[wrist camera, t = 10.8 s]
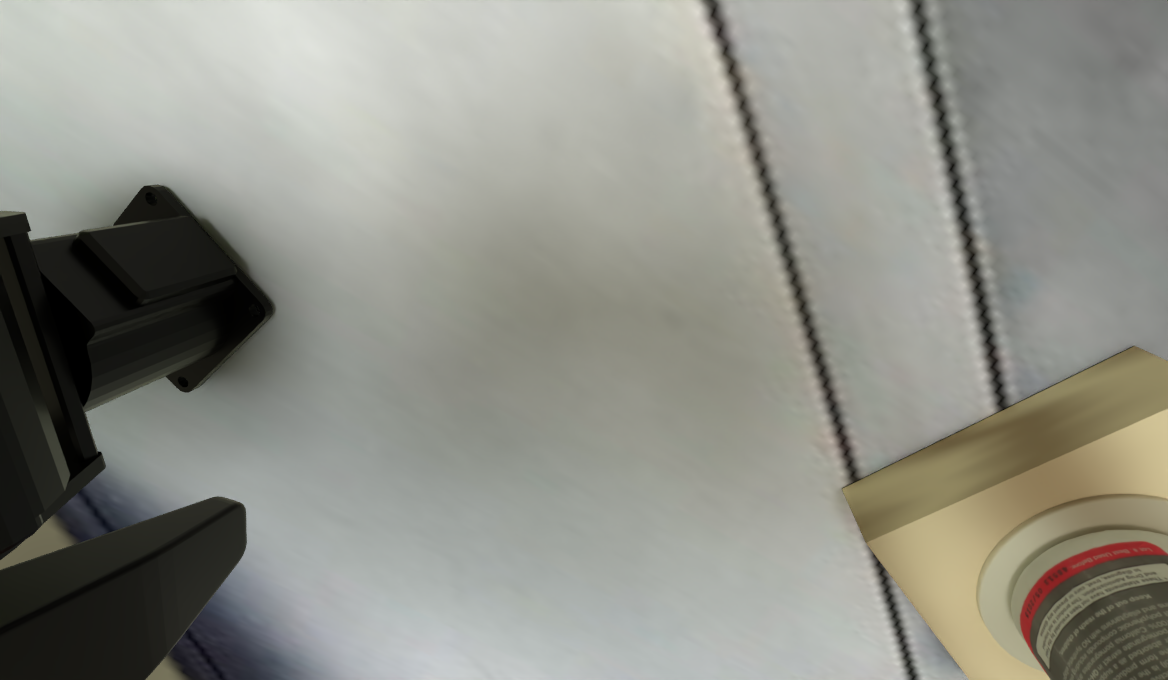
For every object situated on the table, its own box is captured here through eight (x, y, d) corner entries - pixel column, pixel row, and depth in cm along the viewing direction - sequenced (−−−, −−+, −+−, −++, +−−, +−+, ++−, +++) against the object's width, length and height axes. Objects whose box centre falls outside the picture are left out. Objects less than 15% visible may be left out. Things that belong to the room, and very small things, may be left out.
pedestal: (974, 666, 22) (1019, 748, 19) (841, 488, 21) (868, 549, 18) (1265, 567, 19) (1377, 649, 16) (1134, 346, 17) (1231, 389, 14)
